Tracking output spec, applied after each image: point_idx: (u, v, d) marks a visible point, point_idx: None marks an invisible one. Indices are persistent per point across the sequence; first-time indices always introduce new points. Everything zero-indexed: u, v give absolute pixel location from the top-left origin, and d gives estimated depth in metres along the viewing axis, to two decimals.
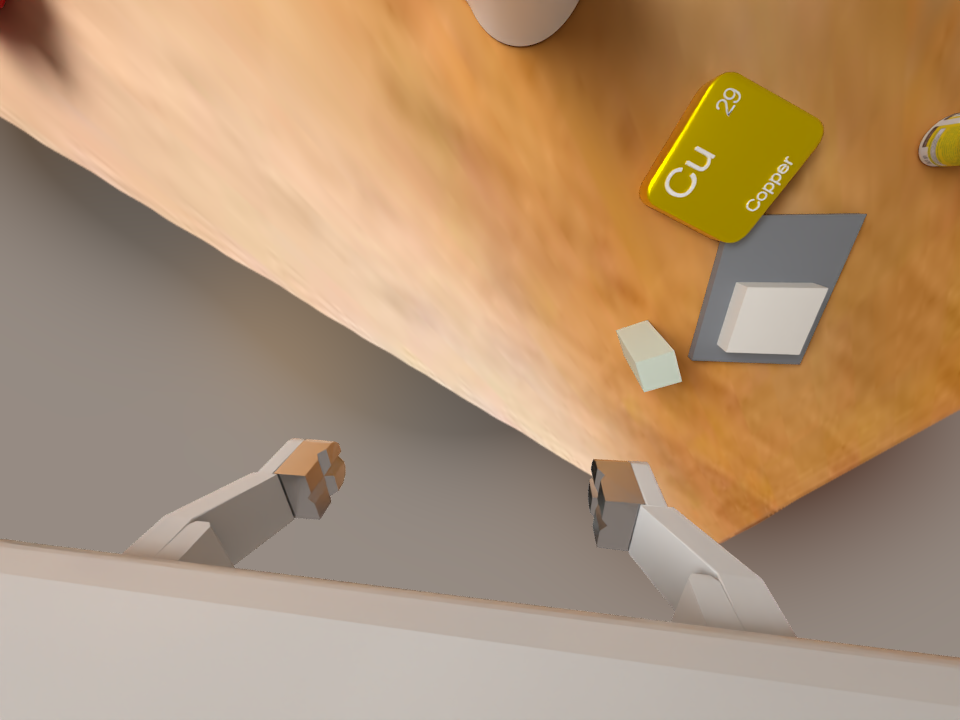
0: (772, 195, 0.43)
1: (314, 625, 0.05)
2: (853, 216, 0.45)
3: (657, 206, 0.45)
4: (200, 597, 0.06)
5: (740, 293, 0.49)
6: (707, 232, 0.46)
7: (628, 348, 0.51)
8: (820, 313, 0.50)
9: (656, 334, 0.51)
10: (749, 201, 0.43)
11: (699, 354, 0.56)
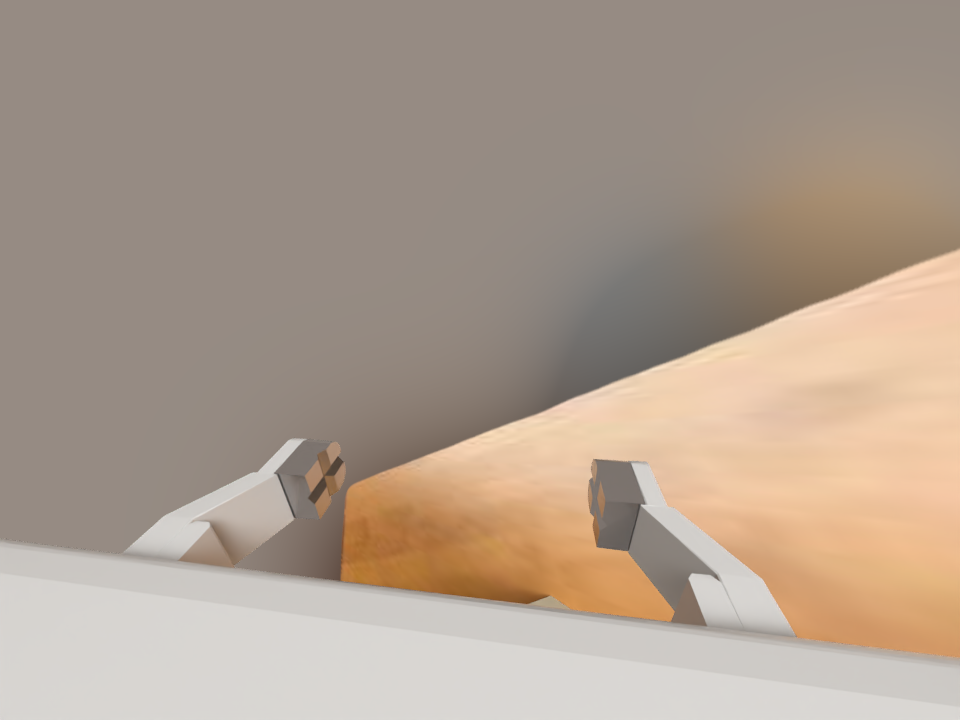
0: None
1: (314, 625, 0.05)
2: None
3: None
4: (200, 597, 0.06)
5: None
6: None
7: None
8: None
9: None
10: None
11: None
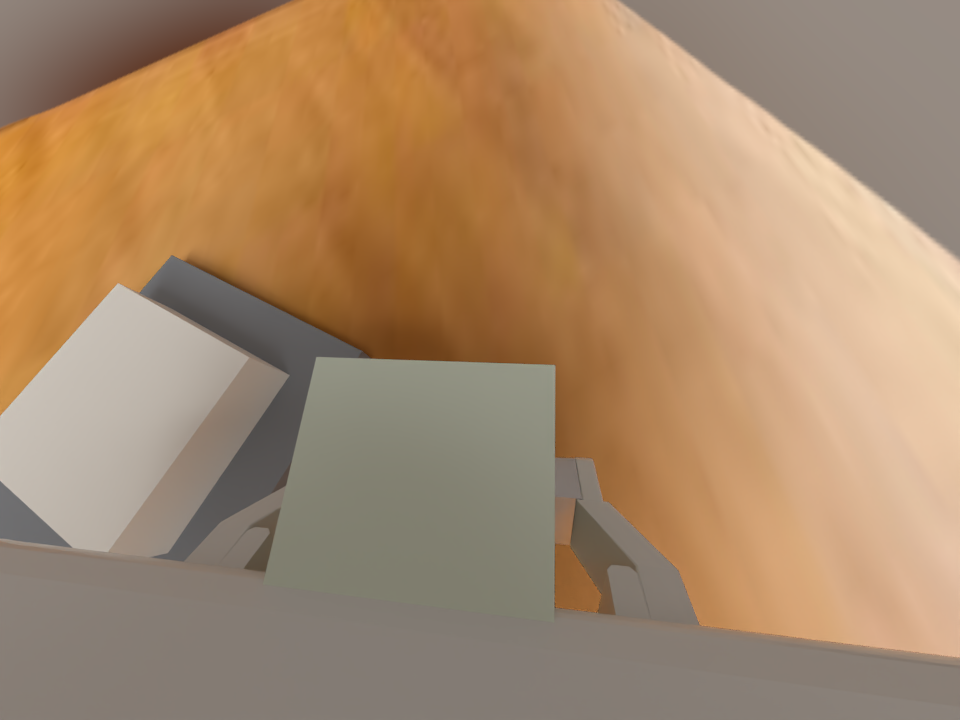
0: None
1: (314, 625, 0.05)
2: None
3: None
4: (201, 597, 0.06)
5: (145, 535, 0.15)
6: None
7: None
8: None
9: None
10: None
11: None
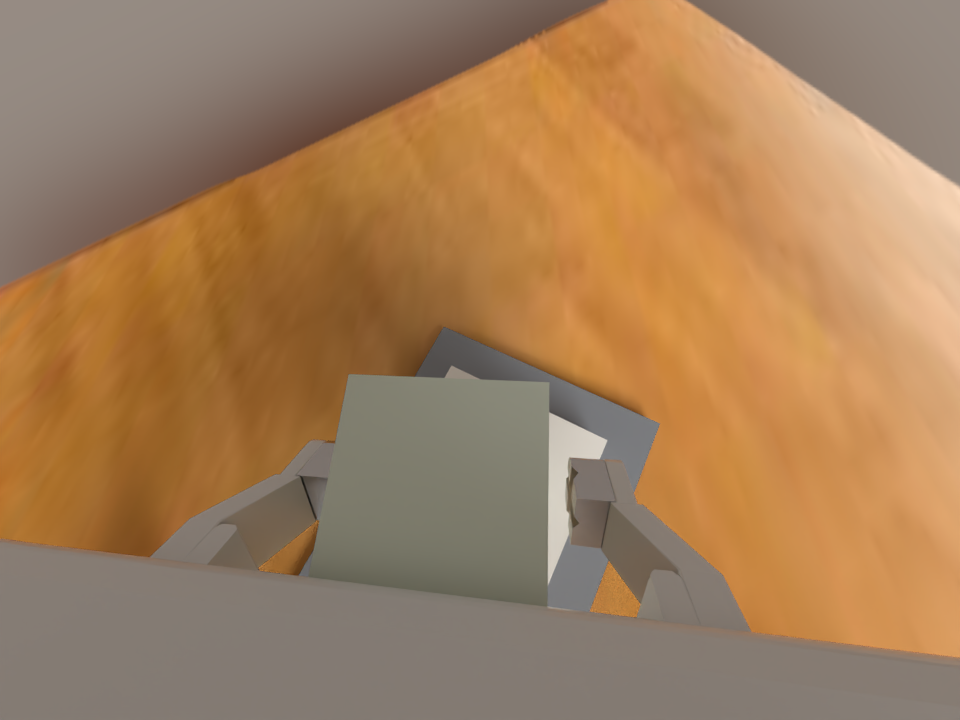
0: None
1: (314, 625, 0.05)
2: None
3: None
4: (200, 597, 0.06)
5: None
6: None
7: None
8: None
9: None
10: None
11: (639, 433, 0.22)
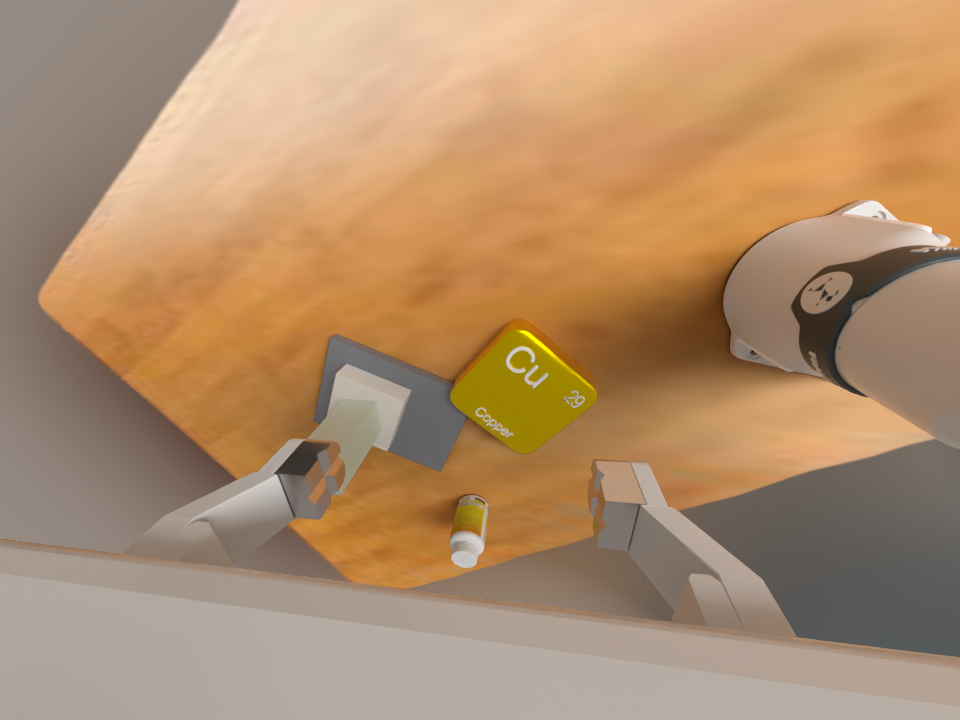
0: (484, 424, 0.48)
1: (314, 625, 0.05)
2: (441, 465, 0.55)
3: (503, 337, 0.42)
4: (200, 597, 0.06)
5: (399, 393, 0.48)
6: (465, 377, 0.45)
7: (351, 436, 0.41)
8: None
9: (364, 455, 0.44)
10: (485, 409, 0.46)
11: (336, 346, 0.48)
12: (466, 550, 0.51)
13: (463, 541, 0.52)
